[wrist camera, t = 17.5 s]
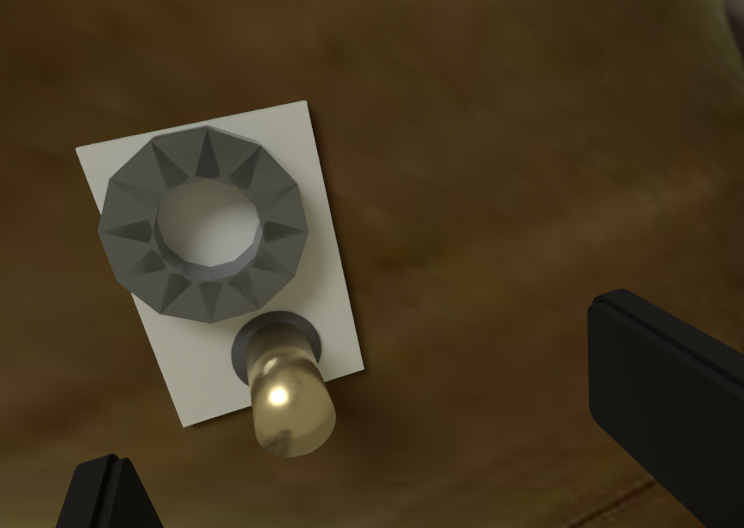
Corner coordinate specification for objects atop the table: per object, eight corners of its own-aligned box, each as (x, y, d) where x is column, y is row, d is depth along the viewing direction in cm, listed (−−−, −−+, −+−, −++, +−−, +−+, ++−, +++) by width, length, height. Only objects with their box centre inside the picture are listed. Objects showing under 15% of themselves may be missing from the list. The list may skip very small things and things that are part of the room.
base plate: (303, 100, 37) (307, 101, 36) (360, 363, 45) (364, 370, 44) (78, 146, 34) (74, 149, 33) (183, 419, 42) (182, 429, 41)
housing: (275, 110, 36) (280, 112, 33) (315, 277, 40) (323, 291, 38) (79, 151, 33) (68, 157, 30) (146, 324, 38) (141, 343, 35)
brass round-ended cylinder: (301, 314, 41) (326, 377, 32) (315, 368, 42) (342, 441, 34) (237, 333, 40) (245, 403, 31) (254, 387, 41) (266, 467, 33)
